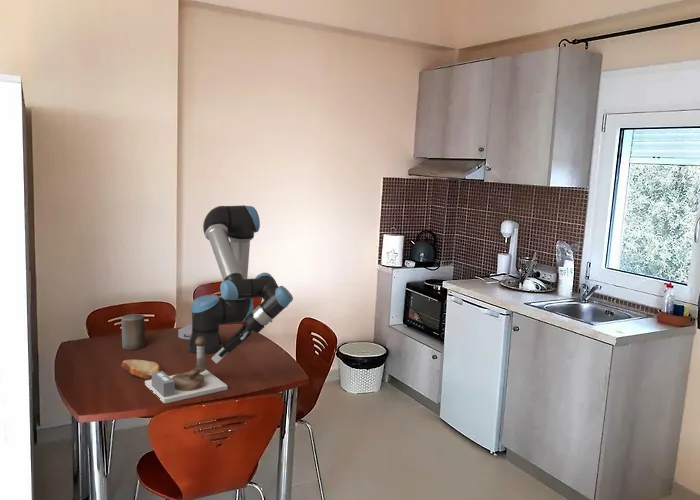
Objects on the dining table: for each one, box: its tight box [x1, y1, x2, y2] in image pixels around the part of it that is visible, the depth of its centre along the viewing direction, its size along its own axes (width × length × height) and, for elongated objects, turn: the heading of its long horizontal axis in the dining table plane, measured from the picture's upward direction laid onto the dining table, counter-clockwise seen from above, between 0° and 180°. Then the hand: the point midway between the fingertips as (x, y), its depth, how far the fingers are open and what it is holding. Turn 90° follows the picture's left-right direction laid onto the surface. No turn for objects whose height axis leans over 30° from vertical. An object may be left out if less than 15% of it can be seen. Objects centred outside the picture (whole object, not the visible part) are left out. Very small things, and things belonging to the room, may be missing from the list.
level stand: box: [144, 369, 229, 404], centre depth 224 cm, size 20×24×7 cm
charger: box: [177, 323, 192, 341], centre depth 286 cm, size 5×9×15 cm
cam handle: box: [171, 337, 207, 390], centre depth 224 cm, size 17×12×16 cm
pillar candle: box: [120, 313, 146, 351], centre depth 265 cm, size 10×10×15 cm
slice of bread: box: [121, 359, 163, 380], centre depth 238 cm, size 18×18×4 cm
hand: (214, 360), depth 231 cm, fingers closed
